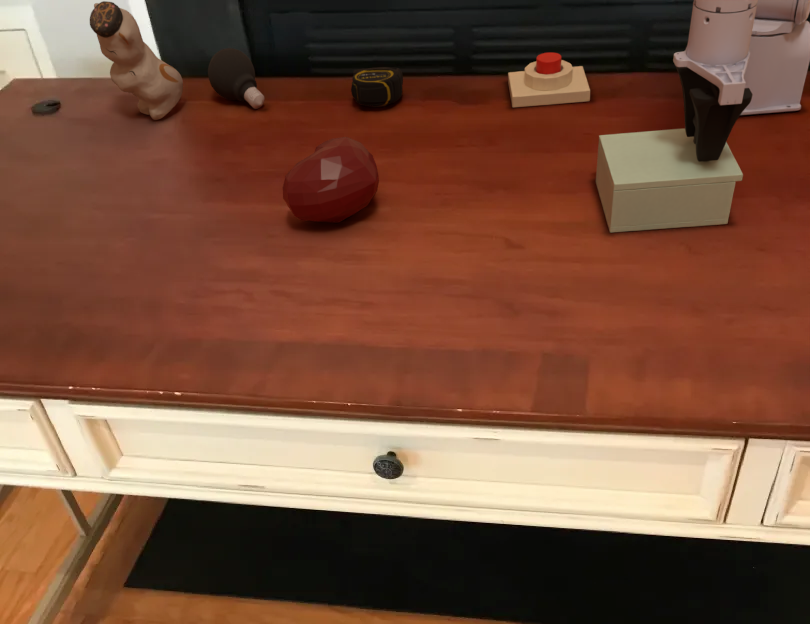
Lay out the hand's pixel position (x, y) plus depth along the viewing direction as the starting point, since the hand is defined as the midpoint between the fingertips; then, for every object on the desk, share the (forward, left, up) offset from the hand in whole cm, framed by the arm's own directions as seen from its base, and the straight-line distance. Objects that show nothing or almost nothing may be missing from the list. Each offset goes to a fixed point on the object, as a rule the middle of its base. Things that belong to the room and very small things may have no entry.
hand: (701, 146), depth 94 cm
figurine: (+67, -34, -6) cm, 75 cm away
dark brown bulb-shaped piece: (+55, -37, -6) cm, 66 cm away
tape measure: (+36, -33, -6) cm, 49 cm away
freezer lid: (+3, 0, -1) cm, 4 cm away
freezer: (+4, 0, -6) cm, 7 cm away
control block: (+13, -31, -6) cm, 34 cm away
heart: (+39, -3, -6) cm, 39 cm away
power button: (+13, -31, -3) cm, 34 cm away
